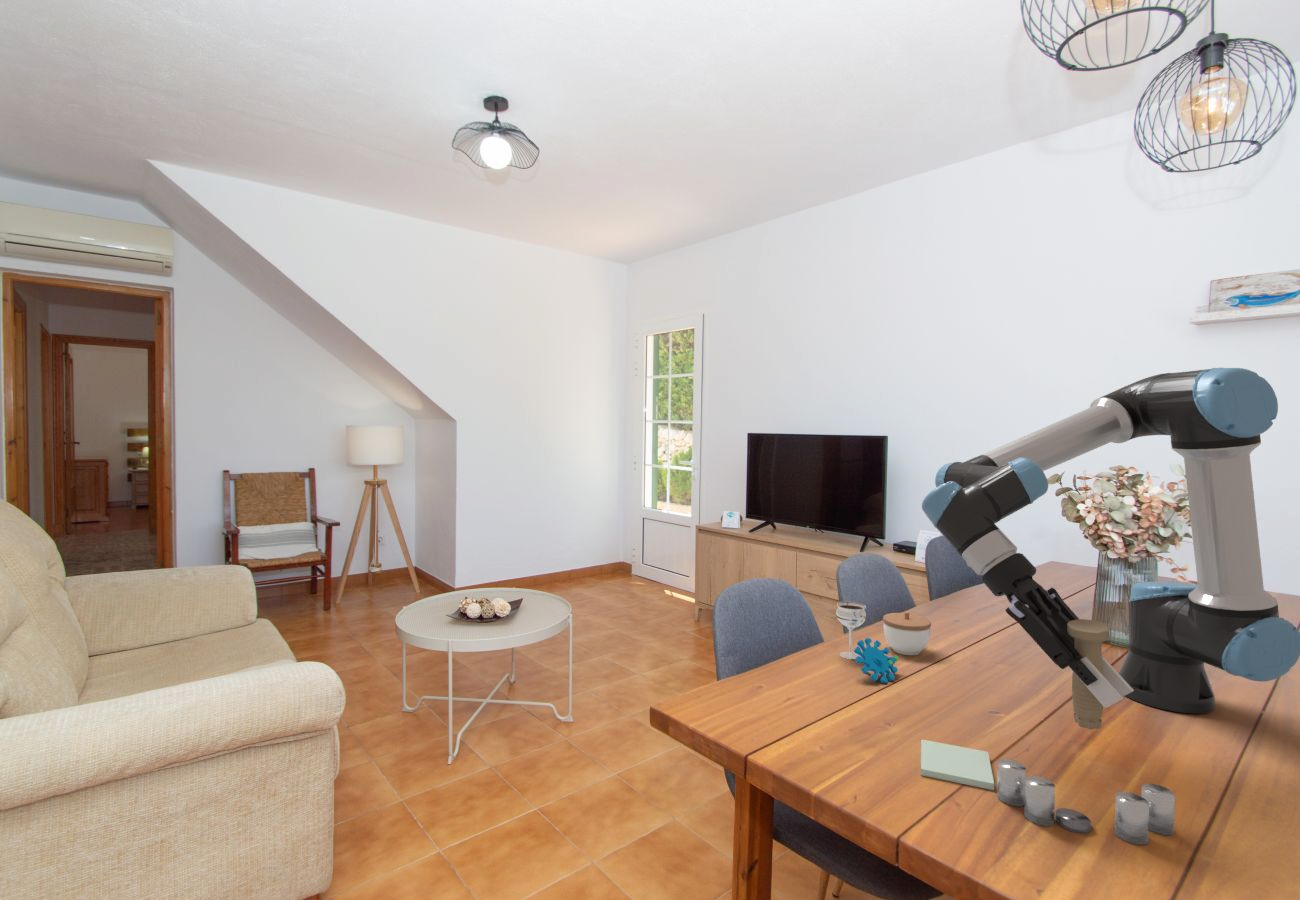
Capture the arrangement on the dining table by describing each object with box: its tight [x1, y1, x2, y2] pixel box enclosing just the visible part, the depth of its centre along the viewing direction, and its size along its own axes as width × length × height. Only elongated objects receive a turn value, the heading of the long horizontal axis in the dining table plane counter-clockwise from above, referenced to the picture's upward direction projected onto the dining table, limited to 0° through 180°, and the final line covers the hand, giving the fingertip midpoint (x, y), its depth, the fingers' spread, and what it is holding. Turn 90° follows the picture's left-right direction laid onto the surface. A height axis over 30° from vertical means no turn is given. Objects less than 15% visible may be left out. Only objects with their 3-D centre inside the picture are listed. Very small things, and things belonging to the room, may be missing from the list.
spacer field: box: [996, 758, 1176, 846], centre depth 86 cm, size 21×8×5 cm, turn 66°
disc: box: [1054, 807, 1092, 835], centre depth 85 cm, size 4×4×1 cm
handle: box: [1067, 618, 1110, 731], centre depth 92 cm, size 5×6×15 cm
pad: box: [920, 739, 995, 791], centre depth 99 cm, size 10×10×1 cm
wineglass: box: [835, 601, 867, 660], centre depth 147 cm, size 7×7×12 cm
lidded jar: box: [882, 611, 932, 656], centre depth 150 cm, size 11×11×9 cm
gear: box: [853, 637, 900, 684], centre depth 136 cm, size 11×6×10 cm
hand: (1119, 698), depth 89 cm, fingers closed on handle, 3 cm apart
